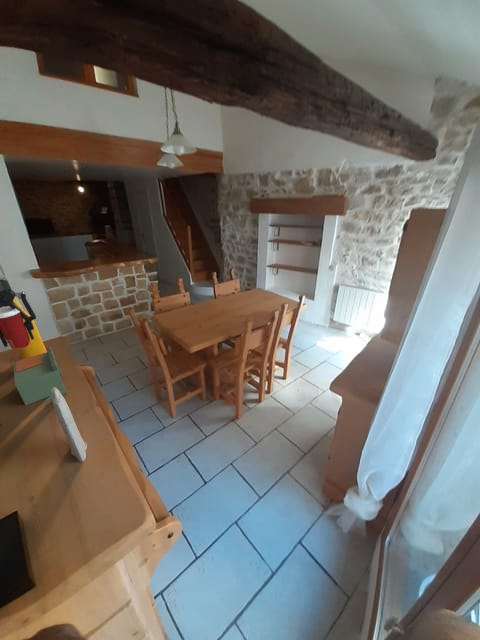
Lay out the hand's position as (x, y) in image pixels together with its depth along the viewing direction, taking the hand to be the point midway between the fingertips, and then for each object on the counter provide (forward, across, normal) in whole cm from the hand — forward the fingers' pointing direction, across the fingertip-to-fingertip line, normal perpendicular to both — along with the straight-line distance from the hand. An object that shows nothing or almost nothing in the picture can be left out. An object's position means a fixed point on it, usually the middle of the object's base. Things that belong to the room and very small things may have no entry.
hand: (19, 341), depth 89 cm
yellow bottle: (+21, 0, +24) cm, 32 cm away
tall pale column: (+21, +6, -41) cm, 46 cm away
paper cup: (+2, 0, 0) cm, 2 cm away
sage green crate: (+20, +1, -4) cm, 21 cm away
